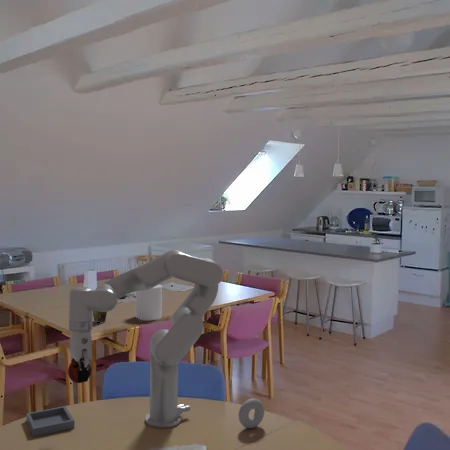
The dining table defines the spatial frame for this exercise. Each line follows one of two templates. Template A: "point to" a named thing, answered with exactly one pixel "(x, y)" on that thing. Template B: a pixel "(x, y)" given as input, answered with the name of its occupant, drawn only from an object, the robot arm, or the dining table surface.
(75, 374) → the apple
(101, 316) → the ceramic cup
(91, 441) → the dining table surface
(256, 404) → the donut
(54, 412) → the tray
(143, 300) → the canister
